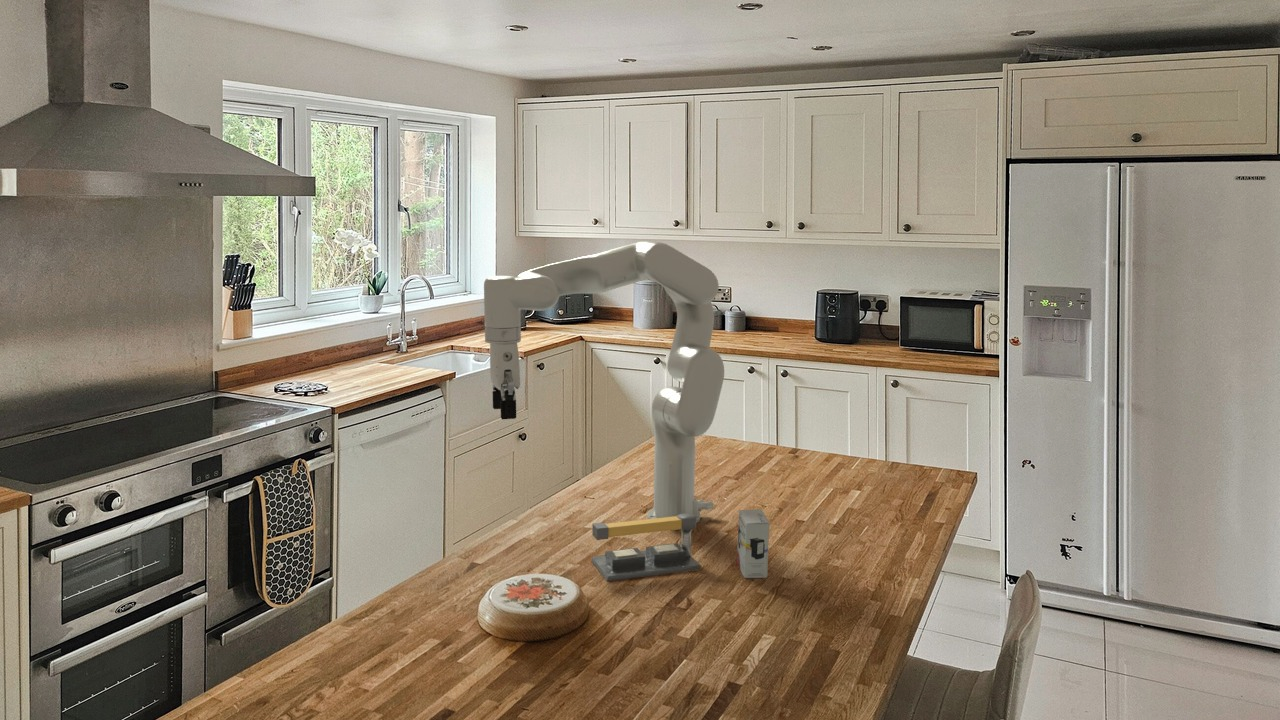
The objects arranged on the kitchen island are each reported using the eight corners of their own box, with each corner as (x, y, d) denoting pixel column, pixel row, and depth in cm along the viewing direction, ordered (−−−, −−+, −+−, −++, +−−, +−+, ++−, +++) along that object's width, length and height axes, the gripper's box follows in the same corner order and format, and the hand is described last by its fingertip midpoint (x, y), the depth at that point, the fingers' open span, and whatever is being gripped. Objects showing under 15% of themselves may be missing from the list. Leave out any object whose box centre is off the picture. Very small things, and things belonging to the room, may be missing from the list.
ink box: (736, 562, 204) (737, 508, 202) (759, 562, 204) (761, 508, 202) (744, 578, 195) (745, 522, 193) (767, 578, 196) (769, 522, 194)
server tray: (680, 550, 210) (681, 519, 209) (700, 569, 200) (701, 536, 198) (591, 561, 203) (591, 529, 202) (607, 581, 193) (607, 547, 192)
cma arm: (691, 523, 206) (691, 512, 205) (698, 529, 202) (699, 518, 202) (591, 534, 198) (591, 522, 198) (597, 540, 195) (597, 529, 194)
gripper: (528, 340, 198) (529, 421, 201) (512, 328, 215) (514, 403, 218) (492, 341, 196) (493, 424, 199) (478, 329, 212) (480, 406, 215)
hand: (504, 413), depth 208 cm, fingers open, 9 cm apart
